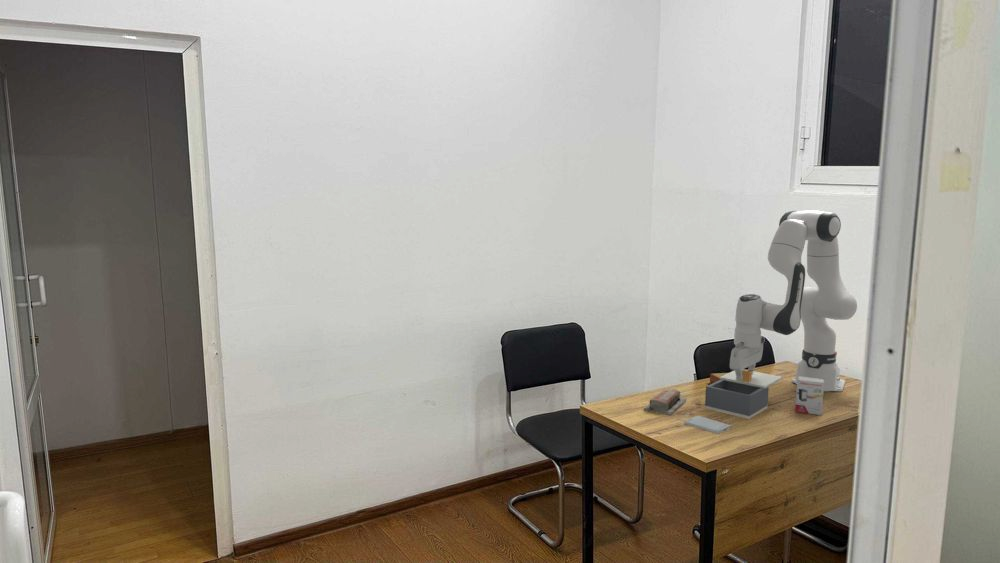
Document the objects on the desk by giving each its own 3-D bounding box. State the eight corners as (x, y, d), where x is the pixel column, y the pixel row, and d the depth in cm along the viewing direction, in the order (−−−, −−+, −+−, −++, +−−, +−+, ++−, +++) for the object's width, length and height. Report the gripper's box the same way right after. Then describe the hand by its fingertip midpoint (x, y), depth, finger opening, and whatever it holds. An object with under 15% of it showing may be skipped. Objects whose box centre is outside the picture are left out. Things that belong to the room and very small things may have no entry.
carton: (727, 382, 273) (728, 372, 272) (750, 394, 257) (751, 383, 257) (709, 383, 271) (709, 373, 271) (731, 395, 256) (731, 384, 255)
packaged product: (672, 403, 231) (644, 398, 236) (671, 416, 232) (643, 411, 237) (687, 389, 246) (660, 385, 252) (686, 402, 247) (660, 398, 252)
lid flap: (738, 370, 260) (739, 359, 259) (782, 379, 248) (783, 367, 248) (719, 379, 247) (720, 367, 247) (765, 388, 236) (765, 376, 236)
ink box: (794, 412, 237) (797, 379, 235) (794, 408, 241) (797, 375, 240) (822, 415, 233) (824, 382, 232) (821, 411, 238) (824, 378, 236)
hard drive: (684, 420, 224) (719, 430, 215) (697, 415, 229) (731, 424, 220) (684, 425, 224) (718, 435, 215) (697, 419, 230) (731, 429, 221)
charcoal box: (724, 398, 251) (725, 377, 250) (767, 408, 241) (768, 386, 240) (704, 408, 240) (706, 386, 239) (749, 419, 229) (750, 396, 228)
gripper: (743, 346, 232) (741, 385, 234) (766, 337, 247) (764, 373, 249) (726, 343, 236) (723, 382, 238) (749, 334, 251) (747, 370, 253)
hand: (744, 377), depth 243 cm, fingers open, 8 cm apart
